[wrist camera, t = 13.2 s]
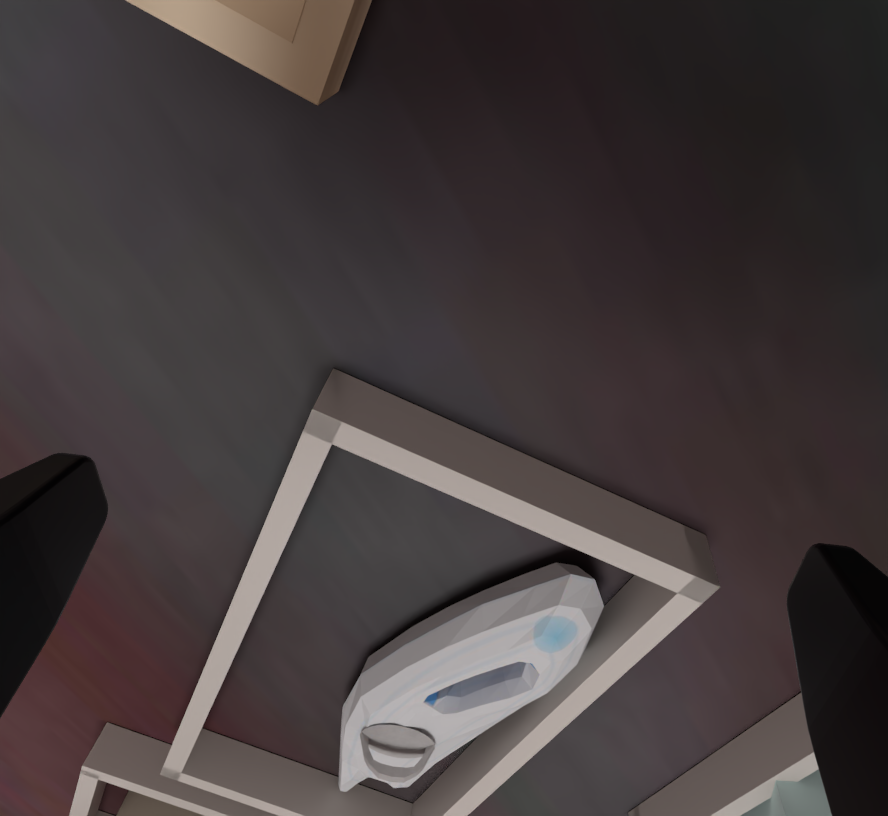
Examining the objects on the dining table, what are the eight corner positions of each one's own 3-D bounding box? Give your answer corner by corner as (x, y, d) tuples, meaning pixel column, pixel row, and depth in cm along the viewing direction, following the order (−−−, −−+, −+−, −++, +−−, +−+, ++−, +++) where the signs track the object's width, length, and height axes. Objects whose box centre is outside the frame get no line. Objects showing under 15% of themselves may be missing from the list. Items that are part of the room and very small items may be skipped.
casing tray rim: (705, 534, 25) (720, 587, 23) (421, 816, 40) (415, 862, 38) (333, 367, 23) (312, 408, 21) (180, 730, 38) (159, 774, 36)
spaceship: (503, 496, 26) (498, 588, 22) (641, 568, 27) (658, 666, 23) (280, 746, 38) (253, 831, 34) (382, 786, 39) (366, 872, 36)
